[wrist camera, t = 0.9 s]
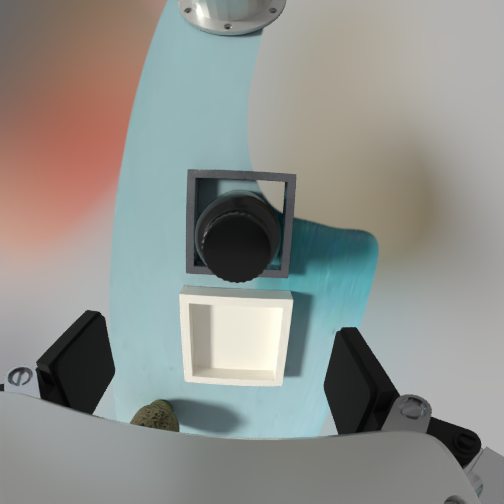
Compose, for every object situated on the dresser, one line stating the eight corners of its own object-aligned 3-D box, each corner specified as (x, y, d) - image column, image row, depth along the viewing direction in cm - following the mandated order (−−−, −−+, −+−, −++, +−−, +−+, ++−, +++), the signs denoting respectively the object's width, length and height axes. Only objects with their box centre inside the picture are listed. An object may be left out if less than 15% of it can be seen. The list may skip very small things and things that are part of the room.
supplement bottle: (220, 261, 32) (206, 309, 20) (198, 202, 30) (168, 218, 18) (280, 241, 31) (300, 279, 20) (260, 180, 29) (268, 181, 18)
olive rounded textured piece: (196, 416, 38) (189, 456, 30) (158, 426, 38) (147, 462, 30) (167, 383, 36) (154, 423, 28) (129, 394, 36) (112, 431, 29)
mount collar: (191, 169, 29) (187, 169, 27) (293, 174, 29) (296, 174, 27) (189, 267, 32) (186, 273, 30) (285, 272, 32) (288, 278, 30)
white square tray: (183, 285, 32) (179, 294, 30) (290, 290, 33) (293, 299, 30) (188, 369, 35) (185, 381, 33) (279, 374, 36) (281, 386, 33)
